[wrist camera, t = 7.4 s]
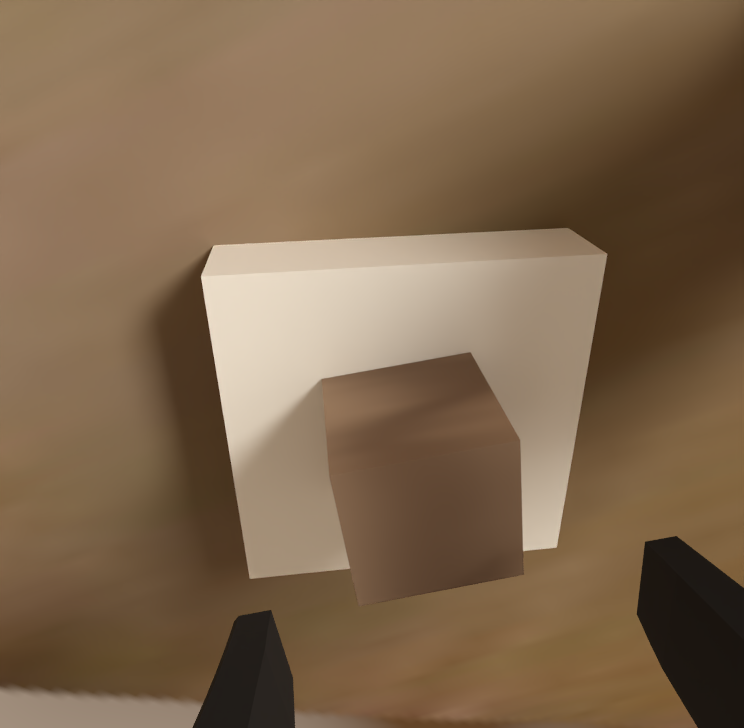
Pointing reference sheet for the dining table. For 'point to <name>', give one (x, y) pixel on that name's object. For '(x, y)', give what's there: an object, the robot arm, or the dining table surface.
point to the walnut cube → (423, 478)
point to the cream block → (392, 361)
